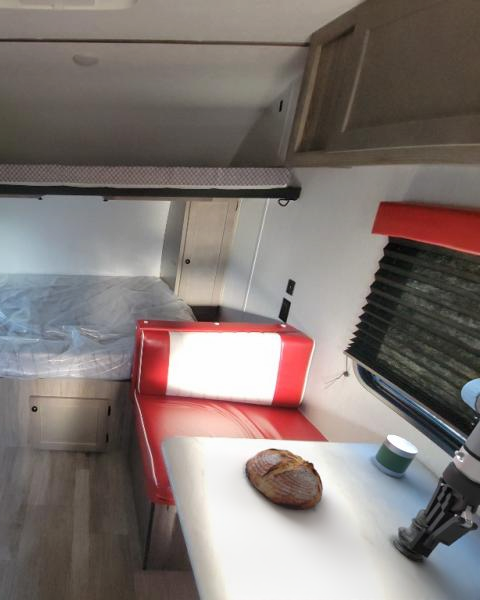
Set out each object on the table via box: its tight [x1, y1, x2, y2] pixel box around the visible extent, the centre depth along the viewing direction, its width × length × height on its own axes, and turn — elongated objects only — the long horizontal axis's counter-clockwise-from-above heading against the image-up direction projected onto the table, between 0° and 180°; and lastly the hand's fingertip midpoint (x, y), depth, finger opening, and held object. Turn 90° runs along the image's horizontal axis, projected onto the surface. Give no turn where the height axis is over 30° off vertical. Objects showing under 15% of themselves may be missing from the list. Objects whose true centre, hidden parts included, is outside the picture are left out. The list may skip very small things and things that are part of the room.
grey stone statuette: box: [393, 508, 427, 562], centre depth 77 cm, size 6×6×12 cm
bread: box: [244, 447, 324, 510], centre depth 90 cm, size 16×20×10 cm
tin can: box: [372, 434, 419, 478], centre depth 100 cm, size 7×7×10 cm
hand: (418, 551), depth 74 cm, fingers closed
